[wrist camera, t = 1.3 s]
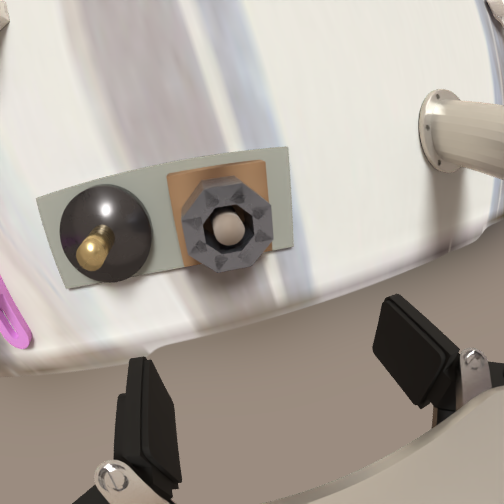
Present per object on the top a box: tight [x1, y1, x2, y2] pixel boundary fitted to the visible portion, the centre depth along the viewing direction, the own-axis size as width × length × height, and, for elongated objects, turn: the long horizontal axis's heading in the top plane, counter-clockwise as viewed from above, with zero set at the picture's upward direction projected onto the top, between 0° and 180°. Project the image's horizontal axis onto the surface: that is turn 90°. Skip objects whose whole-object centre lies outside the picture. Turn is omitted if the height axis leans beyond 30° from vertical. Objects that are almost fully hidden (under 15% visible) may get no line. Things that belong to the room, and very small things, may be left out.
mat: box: [36, 147, 294, 289], centre depth 27 cm, size 27×11×1 cm, turn 96°
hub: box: [59, 184, 153, 282], centre depth 23 cm, size 10×10×6 cm
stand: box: [166, 160, 273, 267], centre depth 25 cm, size 9×9×6 cm
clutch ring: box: [181, 175, 274, 273], centre depth 24 cm, size 7×7×4 cm
